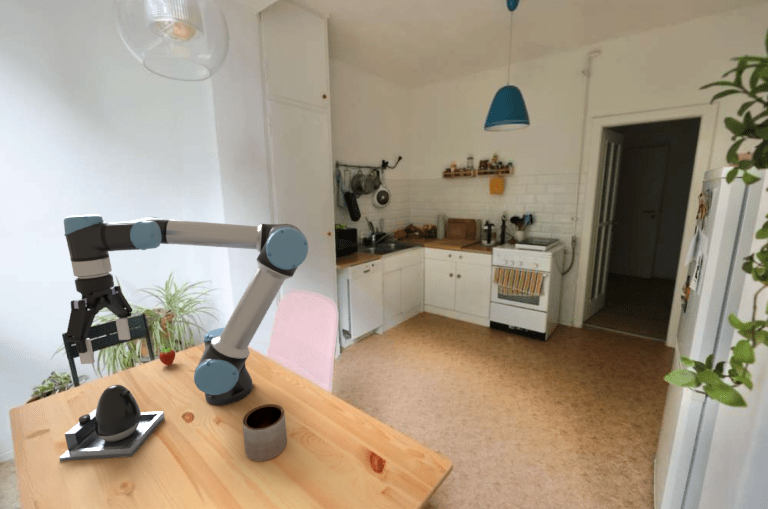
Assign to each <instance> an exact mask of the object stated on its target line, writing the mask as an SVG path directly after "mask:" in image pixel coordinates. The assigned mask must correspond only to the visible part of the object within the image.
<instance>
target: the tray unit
mask: <svg viewBox="0 0 768 509" xmlns="http://www.w3.org/2000/svg"><path fill="white" fill-rule="evenodd" d="M95 416H96V409H92V411H91V412H89V413H87V414H83V415H81V416H79V418H78V422H77V423H76V424H75V425H73V427H71V428H70V429H69V430H67V431H66V432H65V433H64V437H65V442H66V446H67V450H66V451H65V452H64V453H63V454H62V455H60V456H59V461H60V462H65V461H79V460H80V461H81V460H98V459H112V458H113V459H116V458H130V457H133V456H134V455H135V453H137V451H138V450H139V449H140V448H141V447H142V445H144V443H145V442H146V441H147V440H148V439H149V438H150V436H151V435H152V434H153V433H154V431H156V429H158V428H159V426H160V425H161V423H163V421H164V420H165V413H164V411H163V410H162V411H160V410H159V411H146V412H144V411H143V412H142V411H141V419H140V423H139V425H138V427H137V429H136V430H135V431H134V432H133V433H132V434H131V435H129V436H128V437H126V438H124V439H122V440H118V441H113V442H109V441H105V440H103V439H101V438H100V436H99V435H97V434H96V431H95Z"/></svg>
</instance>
